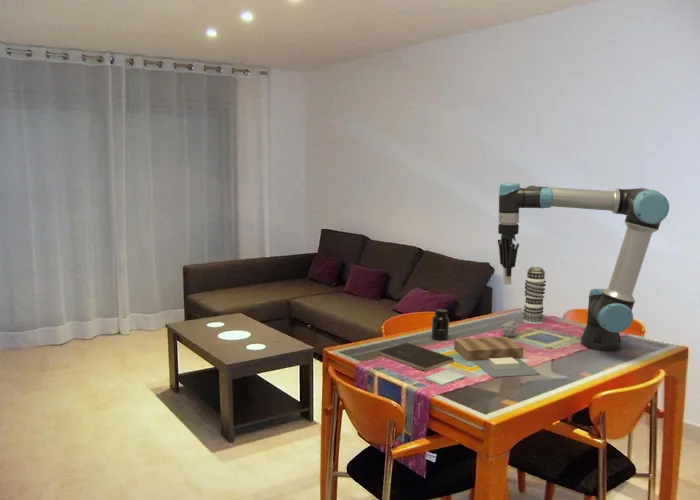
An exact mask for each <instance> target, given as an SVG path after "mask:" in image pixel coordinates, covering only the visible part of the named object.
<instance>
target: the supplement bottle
mask: <svg viewBox="0 0 700 500" xmlns="http://www.w3.org/2000/svg"><path fill="white" fill-rule="evenodd" d="M434 312H435V313H434V314H435V315H434V316H433V317H432V320H431V321H432V322H431V323H432V324H431V338H432V340H435V341H447V340H448V339H449V328H450V318H449V317H448V310H447V309H445V308H437V309H435V311H434Z"/></svg>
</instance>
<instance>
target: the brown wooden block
mask: <svg viewBox="0 0 700 500" xmlns="http://www.w3.org/2000/svg"><path fill="white" fill-rule="evenodd" d="M453 347H454V350H455V351H456V352H457V353H458V354H459V355H460V356H461V357H463V359H465V360H466V361H467V362H474V361H483V360H489V359H491V358H511V357H512V358H513V359H523V358H524V347H523V346H522V345H520V344H518V343H517V342H515V341H514V340H513V339H511V337H507V336H495V337H493V336H492V337H474V338H454V344H453Z"/></svg>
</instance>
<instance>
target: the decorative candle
mask: <svg viewBox="0 0 700 500" xmlns="http://www.w3.org/2000/svg"><path fill="white" fill-rule="evenodd" d="M526 273H527V274H526V275H527V276H526V279H525V283H524V285H525V286H524V289H525V290H524V297H525V302H524V305H523V308H524V309H523V311H524V312H523V316H522V317H523V320H522V321H523V322H524V323H525V324H530V325H539V324H540V325H541V324H543V320H544V319H543V317H544V315H543V313H544V311H543V310H544V298H545V296H544V295H545V294H546V292H545V291H546V288H545V286H547V285H546V283H547V280H546V279H545V274H546V271H545V270H544V269H543V268H542V267H538V266H530V267H529V268H528V269H527V270H526Z"/></svg>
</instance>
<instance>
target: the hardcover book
mask: <svg viewBox="0 0 700 500" xmlns="http://www.w3.org/2000/svg"><path fill="white" fill-rule="evenodd" d="M378 352H380V353H379V354H380V356H382V357H385V358H388V359H390V360H392V361H396V362H398V363H401V364H404V365H405V366H406V365H407V366H409V367H412V368H414V367H416V368H415V369H417V368H418V370H420V369H421V370H420V371H422V370H424V371H423V372H428V371H431V370H434V369H436V367H437V368H440V367H443V366H446V365H448V364H452V363H454V361H455V360H454V359H455V358H454V357H452V356H449V355H446V354H443V353H440V352H436V351H433V350H431V349H427V348H424V347H422V346H418V345H416V344H413V343H410V342H403V343H400V344H397V345H394V346H390V347H387V348H383V349H380V350H379V351H378ZM442 365H443V366H442ZM439 366H440V367H439ZM433 368H434V369H433ZM430 369H431V370H430ZM427 370H428V371H427Z"/></svg>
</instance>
